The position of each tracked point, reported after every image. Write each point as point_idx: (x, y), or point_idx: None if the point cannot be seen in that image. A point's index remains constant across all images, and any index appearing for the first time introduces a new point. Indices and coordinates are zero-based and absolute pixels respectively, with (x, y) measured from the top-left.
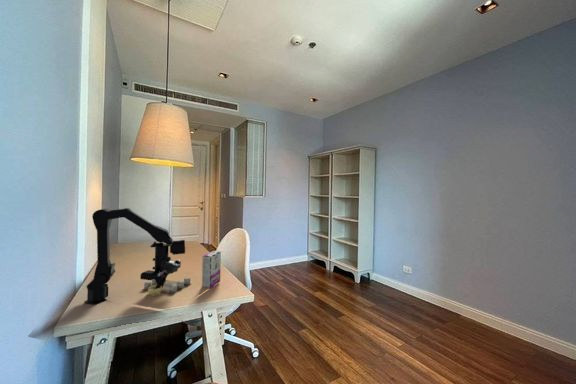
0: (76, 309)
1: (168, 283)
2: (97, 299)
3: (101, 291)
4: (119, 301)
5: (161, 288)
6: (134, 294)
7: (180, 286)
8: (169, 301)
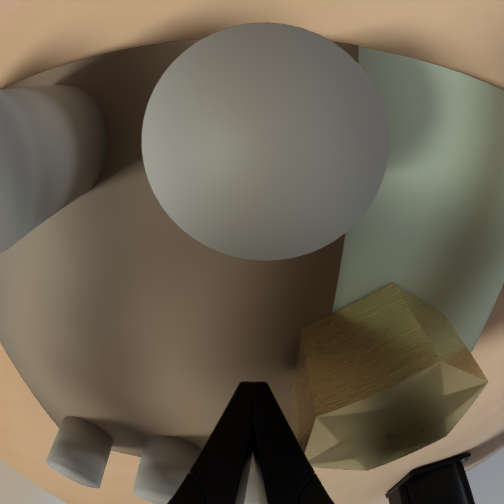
0: (488, 451)
1: (69, 386)
2: (458, 472)
3: (458, 502)
4: (458, 427)
5: (329, 364)
6: None
7: (61, 101)
8: (495, 30)
